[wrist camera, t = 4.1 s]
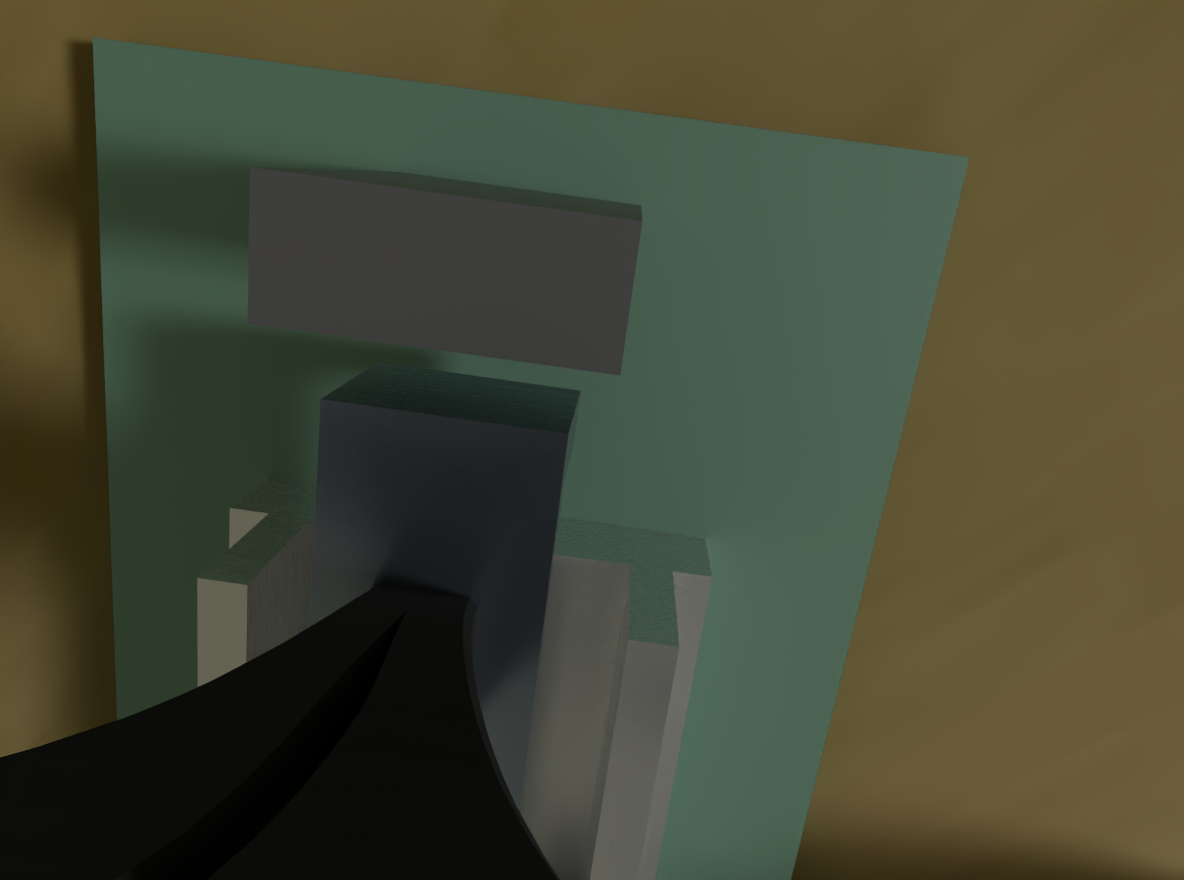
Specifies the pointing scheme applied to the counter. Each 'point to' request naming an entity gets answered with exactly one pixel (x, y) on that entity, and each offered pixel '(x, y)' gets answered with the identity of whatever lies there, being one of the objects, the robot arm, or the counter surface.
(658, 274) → the motherboard
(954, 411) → the counter surface
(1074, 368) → the counter surface
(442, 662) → the robot arm
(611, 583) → the heat sink
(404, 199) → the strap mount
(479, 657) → the metal bar
